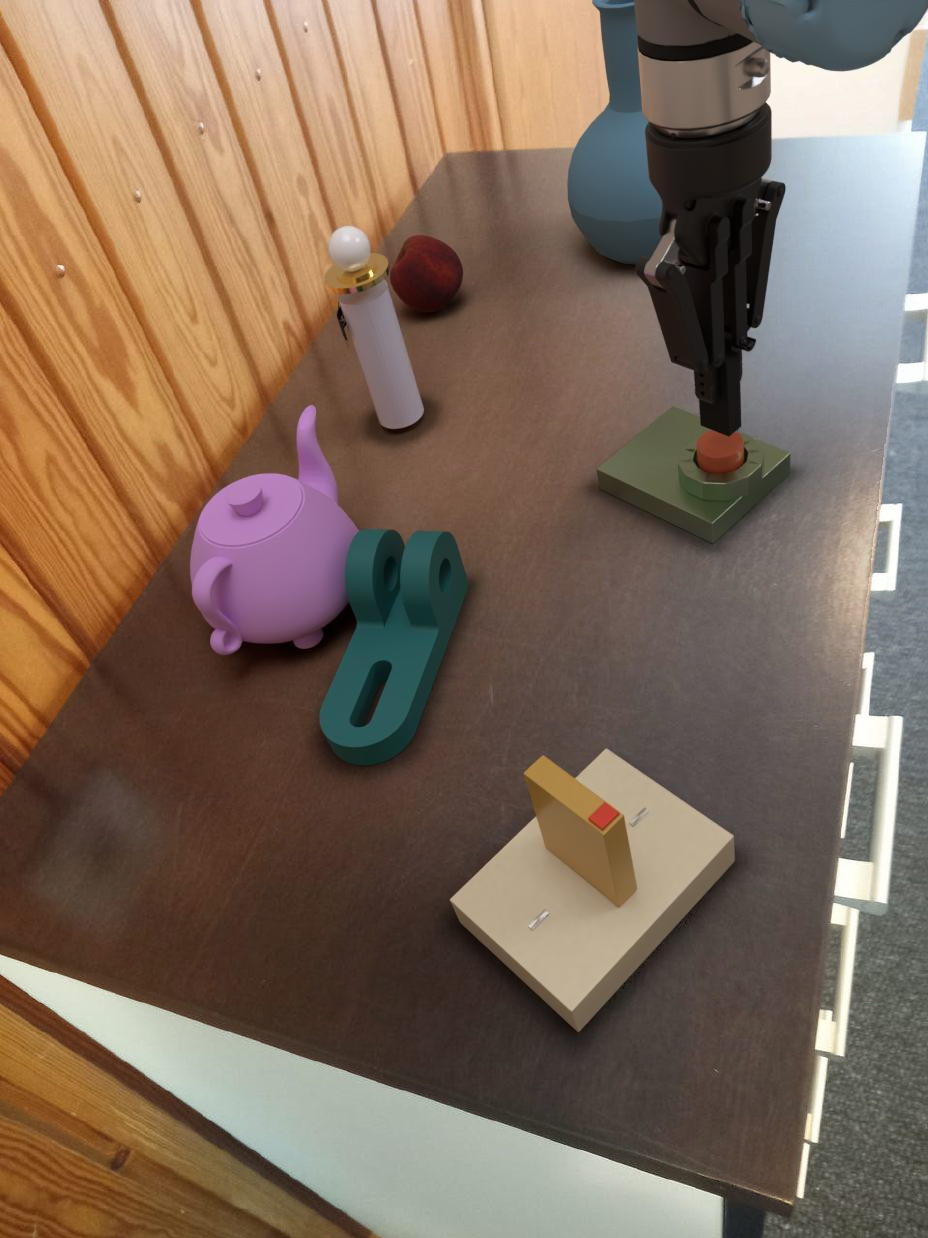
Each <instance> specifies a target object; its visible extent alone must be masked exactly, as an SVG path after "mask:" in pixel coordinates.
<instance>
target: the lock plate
mask: <svg viewBox="0 0 928 1238" xmlns="http://www.w3.org/2000/svg"><path fill="white" fill-rule="evenodd" d="M574 778H575V779H576V780H578V781H579V782H580V783H582V784H583V785H584V786H586V787H587V788H588V789H590V790H591V791H592V792H594V793H595V794H596V795H598V796H599V797H600V798H602V799H603V800H604V801H606V802H607V803H608V804H610V805H611V806H612V807H614V808H615V809H617V810H618V811H619V812H621V813H622V814H623V815H624V818H625V824H626V829H627V835H628V840H629V845H630V851H631V856H632V862H633V867H634V873H635V878H636V883H637V890H636V891H635V892H634V893H633V894H632V895H631V896H630V897H629V898H628V899H627V900H626V901H625V902H624V903H623V904H622V905H621V906H620V907H618V906H617V905H615V904H614V903H613V902H612V901H611V900H609V899H608V898H607V897H606V896H604V895H603V894H602V893H601V892H600V891H598V890H597V889H596V888H595V887H593V886H592V885H591V884H590V883H589V882H587V881H586V880H585V879H584V878H583V877H581V876H580V875H579V874H578V873H576V872H575V871H574V870H573V869H572V868H570V867H569V866H568V865H567V864H565V863H564V862H563V861H562V860H561V859H559V858H558V857H557V856H556V855H554V854H553V853H552V852H551V851H550V850H548V849H547V848H546V847H545V844H544V841H543V837H542V834H541V831H540V827H539V824H538V821H537V817H536V816H534V817H533V818H532V819H531V820H530V821H529V822H528V823H527V824H526V825H525V826H524V827H523V828H522V829H521V830H520V831H519V832H518V833H516V834H515V836H514V837H512V838H511V840H510V841H509V842H507V843H506V844H505V845H504V846H503V847H502V848H501V849H500V850H499V851H498V852H497V853H496V854H494V856H493V857H492V858H491V859H490V860H489V861H488V862H487V863H486V864H485V865H483V867H482V868H481V869H479V871H477V872H476V874H475V875H473V876H472V877H471V878H470V879H469V880H468V881H467V882H466V883H465V884H464V885H463V886H462V887H461V888H460V889H459V890H458V891H457V892H455V894H454V895H453V896H452V897H451V898H449V901H450V904H451V906H452V908H453V910H454V912H455V915H456V917H457V919H458V922H459V923H460V924H461V925H462V926H463V927H464V928H465V929H466V930H467V931H468V932H470V933H471V934H472V935H473V936H474V937H475V939H477V940H478V941H479V942H480V943H481V944H482V945H483V946H484V947H486V948H487V950H489V951H490V952H491V953H492V954H493V955H494V956H495V957H496V958H497V959H498V960H499V961H501V963H503V964H504V965H505V966H506V967H507V968H508V969H509V970H510V971H511V972H512V973H514V974H515V975H516V977H518V978H519V979H520V980H521V981H522V982H523V983H524V984H525V985H526V986H527V987H528V988H530V989H531V991H533V993H535V994H536V995H537V996H539V998H540V999H541V1000H542V1001H543V1002H545V1003H546V1004H547V1005H548V1006H549V1007H550V1008H551V1009H552V1010H553V1011H555V1012H556V1014H558V1015H559V1016H560V1017H561V1018H562V1019H563V1020H564V1021H565V1022H566V1023H567V1024H569V1025H570V1026H571V1027H572V1028H573V1029H574V1030H575V1031H576V1032H577V1033H580V1032H581V1031H582V1030H583V1029H584V1028H585V1026H586V1025H587V1024H588V1023H589V1022H590V1021H591V1020H592V1019H593V1018H594V1016H595V1015H596V1014H598V1012H599V1011H600V1010H601V1009H602V1008H603V1006H604V1005H605V1004H606V1003H607V1002H608V1001H609V1000H610V999H611V998H612V997H613V996H614V995H615V993H616V992H617V991H618V990H619V989H620V988H621V987H622V986H623V985H624V983H626V982H627V980H628V979H629V978H630V977H631V976H632V975H633V974H634V973H635V972H636V970H638V968H639V967H640V966H641V965H642V964H643V963H644V962H645V961H646V960H647V958H648V957H649V956H650V955H651V954H653V952H654V951H655V949H657V947H658V946H659V945H660V944H661V943H662V942H663V941H664V940H665V939H666V938H667V936H668V935H669V934H670V933H672V931H673V930H674V929H675V928H676V927H677V926H678V925H679V923H680V922H681V921H682V920H683V919H684V918H685V917H686V915H688V913H689V912H690V911H691V910H692V909H693V908H694V907H695V906H696V905H697V904H698V902H699V901H700V900H701V899H702V898H703V897H704V896H705V895H706V894H707V892H709V890H710V889H711V888H712V887H713V886H714V885H715V884H716V882H718V880H720V878H721V877H723V875H724V874H725V873H726V872H727V871H728V870H729V868H731V866H732V865H733V864H734V863H735V862H736V857H735V856H736V855H735V836H734V834H732V833H731V832H729V831H728V830H726V829H725V828H723V827H722V826H720V825H719V824H717V823H716V822H714V821H713V820H712V819H710V818H709V817H707V816H706V815H704V814H703V813H701V812H700V811H698V810H697V809H695V808H694V807H693V806H691V805H690V804H688V803H687V802H686V801H684V800H682V799H681V798H680V797H678V796H677V795H675V794H674V793H672V792H671V791H670V790H668V789H666V788H665V787H663V786H662V785H660V784H659V782H656V781H655V780H653V779H652V778H650V777H649V776H647V775H646V774H645V773H643V772H642V771H640V770H639V769H638V768H635V766H633V765H631V764H630V763H628V762H627V761H625V760H624V759H623V758H621V757H620V756H619V755H617V754H616V753H614V752H613V751H611V750H609V749H608V748H605V749H604V750H602V752H601V753H600V754H598V755H597V757H595V758H594V759H593V760H592V761H591V762H590V763H589V764H588V765H587V766H586V767H585V768H584V769H583V770H582V771H581V772H580V773H579V774H578V775H577V776H576V777H574Z"/></svg>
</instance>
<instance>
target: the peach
mask: <svg viewBox="0 0 928 1238" xmlns="http://www.w3.org/2000/svg"><path fill="white" fill-rule="evenodd" d="M463 278H464V267H463V264H462V261H461V259H460V257H459V255H458V253H457V252H456V251H455V250H454V249H453V248H452V247H451V246H450V245H449V244H447V243H445V242H444V241H443V240H440V239H438V238H436V237H433V236H430V235H429V236H428V235H423V234H415V235H412V236H409V237H407V239H405V240H404V242H403V244H402V246H401V248H400V250H399V252H398V254H397V257H396V260H395V262H394V264H393V265H392V266H391V268H390V272H389V282H390V285H391V287H392V290H393V292H394V293H395V295H396V296H397V297H398V299H400V300H401V301H402V302H403V303H404V304H405V305H406V306H407V307H409V308H411V309H413V310H415V311H417V312H422V313H434V312H437V311H440V310H442V309H444V308H445V307H446V306H448V305H449V304H450V303H451V302H453V300H454V299H455V297H456V296H457V295H458V293H459V291H460V289H461V286H462V283H463Z"/></svg>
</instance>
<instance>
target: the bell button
mask: <svg viewBox="0 0 928 1238" xmlns="http://www.w3.org/2000/svg"><path fill="white" fill-rule="evenodd" d="M738 432H739V431H738ZM738 432H736V431H735V432H734V433H733V434H732V435H731V436H730V437H728V436H726V435H723V434H721V433H718V432H716V431H713V430H711V431H708V432H706V433H704V434H703V435H701V436H700V438H699V439H698V441H697V444H696V447H697V463H698V465H699V467H700V468H701V469H702V470H703V471H705V472H707V473H710V474H725V473H728V472H731V471H734V470H737V469H738V468H739V467H740V466H741V465H742V464H743V462H744V440H743V437H742V436H741V435H740V434H739V433H738Z"/></svg>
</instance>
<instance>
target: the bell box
mask: <svg viewBox="0 0 928 1238" xmlns="http://www.w3.org/2000/svg"><path fill="white" fill-rule="evenodd" d="M708 431H711V429H708V428H706V427H703V426H701V425H700V415H697V414H694V413H692V412H689V411H686V410H684V409H682V408H680V407H677V406H675V405H672V406H671V407H670V408H668V409H667V410H666V411H665V412H664V413H662V414H661V415H660V416H659V417H657V418H656V419H655V420H654V421H653V422H652V423H650V424H649V425H647V427H645V428H644V429H643V430H641V432H640V433H638V434H636V436H634V437H633V438H632V439H630V441H629V442H627V443H626V444H625V445H624V446H622V447H621V448H620V449H619V450H617V451H616V452H615V453H614V454H612V455H611V456H610V457H609V458H608V459H606V460H605V461H604V462H603V463H602V464H600V465H599V466H598V467H597V468H596V476H597V483H598V488H599V489H600V490H601V491H604V492H605V493H608V494H609V495H611V496H613V497H617V498H618V499H620V500H621V501H624V502H626V503H628V504H630V505H632V506H635V507H637V508H639V509H640V510H642V511H645V512H647V513H648V514H651V515H652V516H655V517H657V518H659V519H661V520H663V521H665V522H667V523H669V524H671V525H673V526H676V527H678V528H680V529H681V530H683V531H686V532H688V533H690V534H691V535H694V536H696V537H698V538H700V539H702V540H705V541H706V542H709V543H711V544H715V542H717V541H718V540H720V539H721V537H722V536H723V535H725V534H726V533H727V532H728V531H729V530H730V529H731V528H732V527H733V526H735V525H736V524H737V523H738V522H739V521H740V520H741V519H742V518H744V516H745V515H746V514H748V513H749V512H750V511H751V510H752V509H753V508H754V507H755V506H756V505H758V504H759V503H760V502H761V501H762V500H763V499H764V498H765V497H766V496H767V495H769V494H770V493H771V492H772V491H773V490H774V489H775V488H776V487H778V485H779V484H781V482H783V481H784V480H785V479H786V478H787V477H788V476H789V475H790V474H791V454H792V453H791V452H790V451H788V450H785V449H783V448H779V447H777V446H775V445H773V444H769V443H767V442H765V441H763V440H760V439H757V438H755V437H753V436H751V435H748V434H746V433H743V432H741V431H739V430H737V431H736V432H738V433H739V434H740V435H741V436H742V437H743V440H744V462H743V464H742V465H741V466H740V467H739V468H738V469H737V470H734V471H731V472H728V473H725V474H710V473H707V472H705V471H703V470H702V469H701V468H700V467H699V465H698V463H697V447H696V444H697V441H698V439H699V438H700V436H701V435H703V434H704V433H706V432H708Z"/></svg>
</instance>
